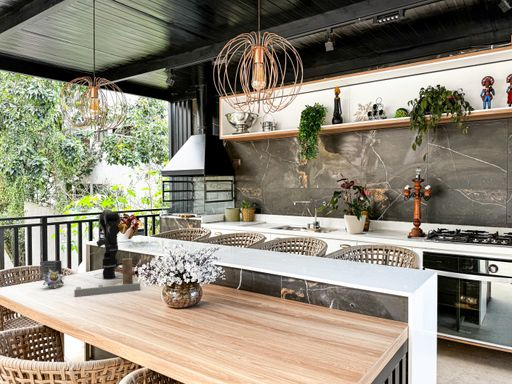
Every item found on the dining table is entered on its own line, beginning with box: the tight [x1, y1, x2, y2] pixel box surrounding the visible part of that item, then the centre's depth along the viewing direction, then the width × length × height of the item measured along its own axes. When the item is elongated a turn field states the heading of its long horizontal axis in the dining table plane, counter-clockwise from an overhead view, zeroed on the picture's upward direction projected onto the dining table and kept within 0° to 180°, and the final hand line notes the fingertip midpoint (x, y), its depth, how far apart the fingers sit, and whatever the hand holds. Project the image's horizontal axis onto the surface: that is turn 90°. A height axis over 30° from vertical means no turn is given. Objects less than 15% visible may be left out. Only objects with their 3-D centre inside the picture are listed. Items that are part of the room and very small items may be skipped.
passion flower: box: [40, 270, 65, 289], centre depth 220 cm, size 11×11×12 cm
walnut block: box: [121, 257, 134, 285], centre depth 214 cm, size 5×5×14 cm
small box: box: [39, 260, 63, 280], centre depth 245 cm, size 11×6×10 cm, turn 84°
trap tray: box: [73, 280, 141, 298], centre depth 210 cm, size 32×13×4 cm, turn 110°
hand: (112, 260), depth 228 cm, fingers open, 9 cm apart
